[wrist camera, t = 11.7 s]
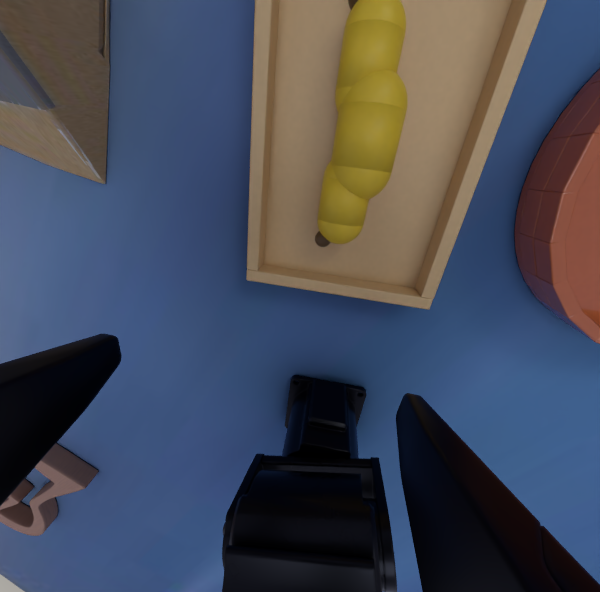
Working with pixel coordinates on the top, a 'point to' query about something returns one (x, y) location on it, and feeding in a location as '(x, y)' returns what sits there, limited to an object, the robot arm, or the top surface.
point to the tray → (411, 150)
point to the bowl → (565, 216)
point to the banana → (364, 118)
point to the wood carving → (46, 492)
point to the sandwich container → (56, 82)
